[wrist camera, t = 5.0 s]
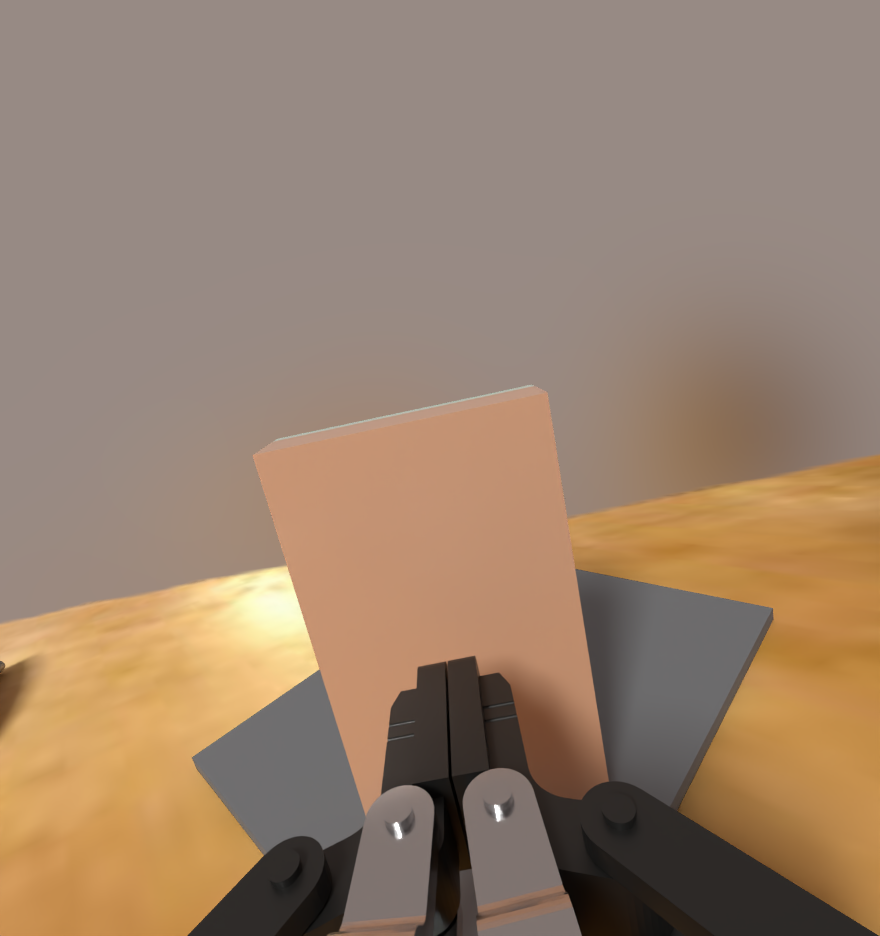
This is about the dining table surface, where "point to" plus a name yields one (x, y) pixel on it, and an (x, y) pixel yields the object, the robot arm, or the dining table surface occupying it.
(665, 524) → the dining table surface
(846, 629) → the dining table surface
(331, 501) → the tile
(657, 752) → the mat
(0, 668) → the ceramic fragment
